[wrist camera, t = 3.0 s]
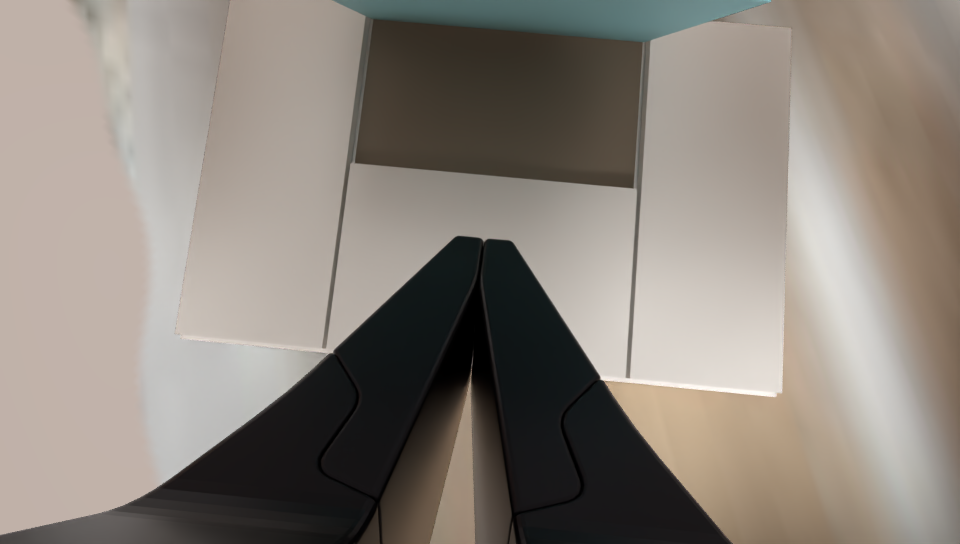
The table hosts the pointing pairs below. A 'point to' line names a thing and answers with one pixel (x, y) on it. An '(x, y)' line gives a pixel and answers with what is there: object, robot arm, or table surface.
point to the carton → (499, 183)
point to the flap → (559, 15)
